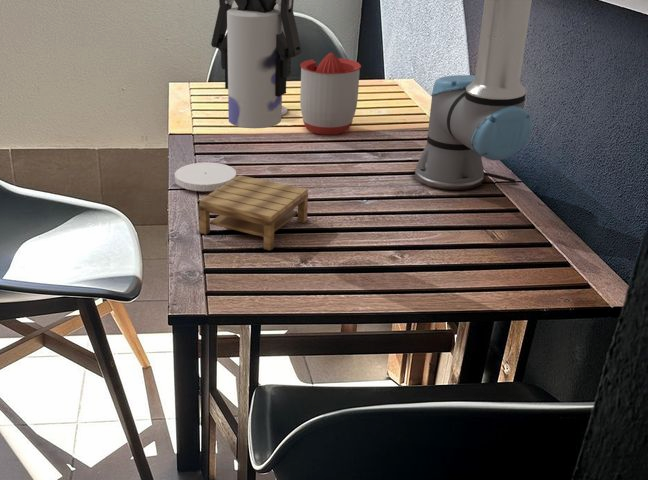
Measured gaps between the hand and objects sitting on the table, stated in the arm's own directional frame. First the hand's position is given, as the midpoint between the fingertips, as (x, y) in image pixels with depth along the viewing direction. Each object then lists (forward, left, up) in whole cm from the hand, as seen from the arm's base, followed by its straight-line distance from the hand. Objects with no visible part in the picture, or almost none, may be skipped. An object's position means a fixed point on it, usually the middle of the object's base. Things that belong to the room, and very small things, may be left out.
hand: (255, 90), depth 150 cm
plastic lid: (+21, -15, -28) cm, 38 cm away
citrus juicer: (+14, -65, -28) cm, 72 cm away
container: (0, 0, -6) cm, 6 cm away
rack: (0, 0, -28) cm, 28 cm away
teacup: (+35, -70, -28) cm, 83 cm away
